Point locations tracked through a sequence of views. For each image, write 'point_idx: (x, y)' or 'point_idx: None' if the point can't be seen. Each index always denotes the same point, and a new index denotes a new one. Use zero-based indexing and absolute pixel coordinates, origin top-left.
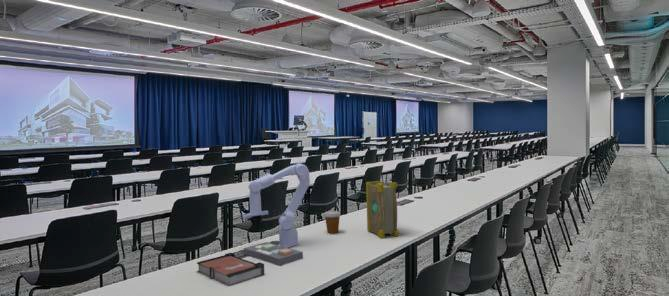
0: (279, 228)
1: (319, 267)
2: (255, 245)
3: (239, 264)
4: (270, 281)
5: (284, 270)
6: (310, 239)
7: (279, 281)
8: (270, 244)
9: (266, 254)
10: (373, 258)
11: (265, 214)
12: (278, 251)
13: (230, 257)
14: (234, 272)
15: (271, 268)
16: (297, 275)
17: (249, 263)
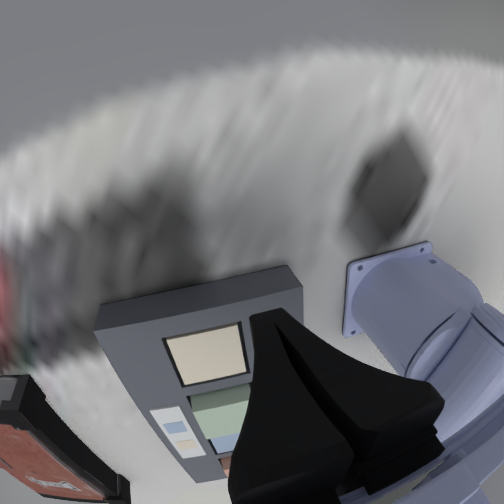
0: (425, 353)
1: None
2: (191, 321)
3: (63, 482)
4: (132, 497)
5: (187, 482)
6: (480, 256)
7: (150, 501)
8: None
9: (177, 453)
10: None
11: (493, 409)
12: (223, 468)
13: (25, 436)
14: (54, 495)
15: (161, 469)
16: (199, 497)
17: (92, 489)
